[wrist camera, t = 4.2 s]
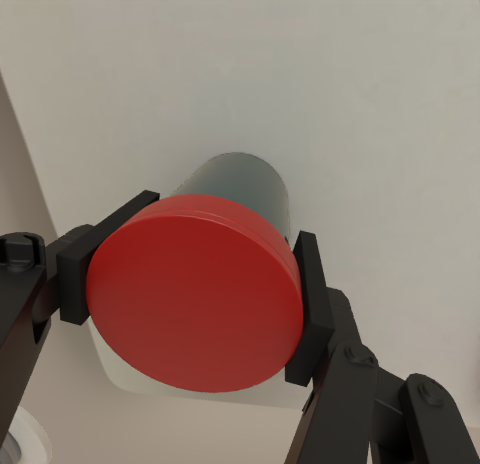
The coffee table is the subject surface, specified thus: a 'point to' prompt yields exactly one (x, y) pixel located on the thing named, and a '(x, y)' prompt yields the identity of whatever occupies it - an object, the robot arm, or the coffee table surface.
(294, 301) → the jam lid
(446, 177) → the coffee table surface
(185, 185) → the lidded canister
